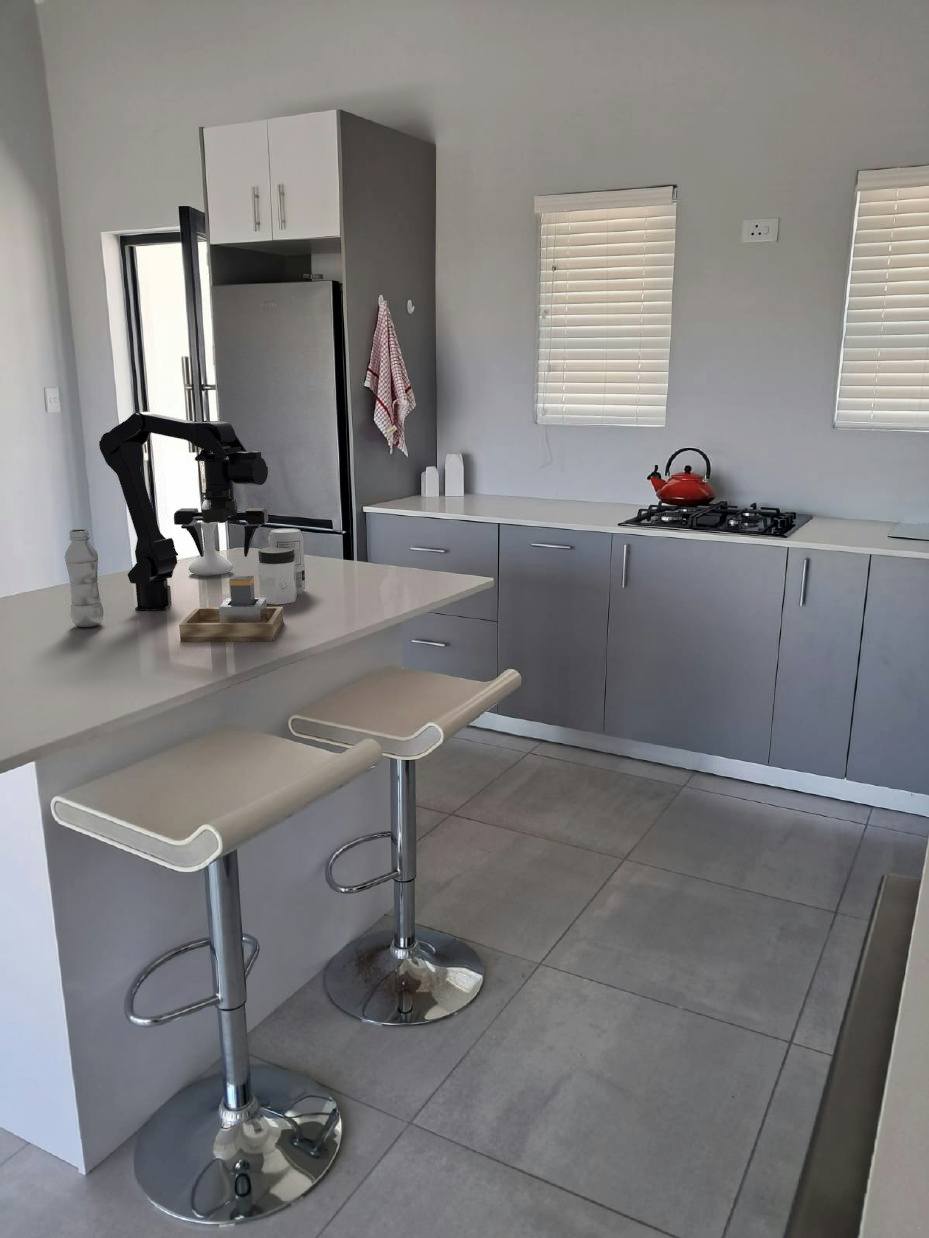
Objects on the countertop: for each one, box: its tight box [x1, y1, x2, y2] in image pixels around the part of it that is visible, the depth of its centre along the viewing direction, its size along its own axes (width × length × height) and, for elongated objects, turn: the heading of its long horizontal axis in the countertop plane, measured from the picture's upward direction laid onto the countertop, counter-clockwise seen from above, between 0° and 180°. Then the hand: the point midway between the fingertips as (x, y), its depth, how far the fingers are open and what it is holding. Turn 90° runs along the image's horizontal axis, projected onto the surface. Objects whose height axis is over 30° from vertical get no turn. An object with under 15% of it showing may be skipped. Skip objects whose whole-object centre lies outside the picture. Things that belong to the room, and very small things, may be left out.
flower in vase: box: [188, 521, 234, 577], centre depth 242 cm, size 13×11×25 cm
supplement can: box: [267, 527, 306, 595], centre depth 222 cm, size 8×8×15 cm
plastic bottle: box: [64, 528, 105, 628], centre depth 189 cm, size 6×7×20 cm
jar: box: [257, 546, 298, 606], centre depth 214 cm, size 9×8×12 cm
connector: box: [229, 575, 256, 605], centre depth 187 cm, size 4×4×8 cm
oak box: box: [178, 606, 284, 643], centre depth 187 cm, size 18×14×4 cm
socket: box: [219, 597, 268, 623], centre depth 188 cm, size 8×8×6 cm
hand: (224, 556), depth 198 cm, fingers open, 9 cm apart
